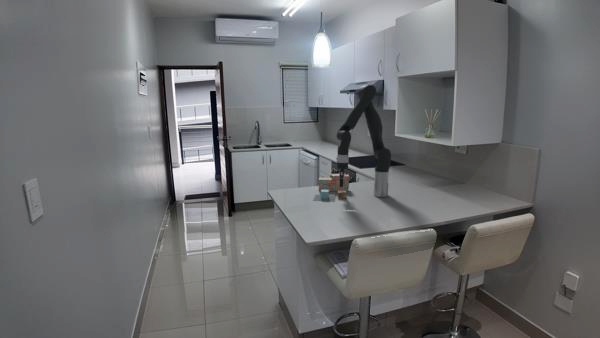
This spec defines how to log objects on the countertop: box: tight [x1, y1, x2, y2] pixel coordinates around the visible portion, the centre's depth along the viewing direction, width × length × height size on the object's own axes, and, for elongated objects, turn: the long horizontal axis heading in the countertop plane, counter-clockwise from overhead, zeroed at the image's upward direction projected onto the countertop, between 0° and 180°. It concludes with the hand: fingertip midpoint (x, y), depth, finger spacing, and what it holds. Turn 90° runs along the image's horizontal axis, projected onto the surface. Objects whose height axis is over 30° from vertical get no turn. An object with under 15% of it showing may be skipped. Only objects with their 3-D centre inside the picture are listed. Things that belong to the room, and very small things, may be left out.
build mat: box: [312, 194, 337, 203], centre depth 216 cm, size 14×14×1 cm
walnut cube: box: [337, 191, 347, 200], centre depth 217 cm, size 5×5×5 cm
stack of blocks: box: [318, 173, 350, 192], centre depth 234 cm, size 21×6×12 cm, turn 84°
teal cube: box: [320, 190, 330, 199], centre depth 215 cm, size 5×5×5 cm
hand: (341, 185), depth 215 cm, fingers open, 8 cm apart
